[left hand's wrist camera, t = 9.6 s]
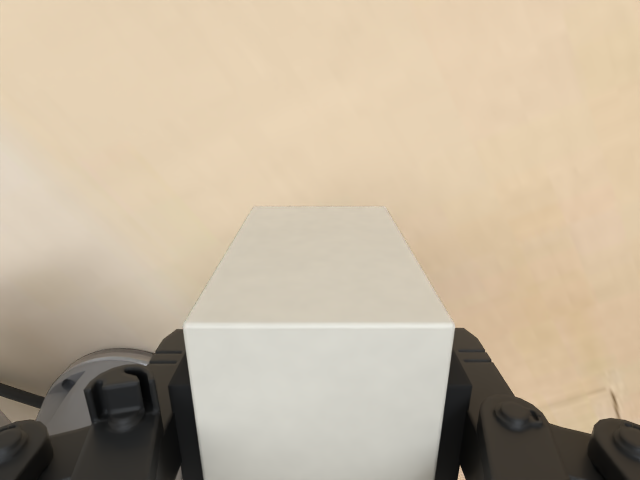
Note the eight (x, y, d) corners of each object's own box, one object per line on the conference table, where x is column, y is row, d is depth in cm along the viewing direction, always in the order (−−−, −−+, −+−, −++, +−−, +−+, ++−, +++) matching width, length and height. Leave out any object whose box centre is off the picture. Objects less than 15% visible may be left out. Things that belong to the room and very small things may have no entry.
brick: (261, 355, 16) (213, 567, 9) (252, 205, 14) (180, 324, 7) (377, 355, 16) (424, 567, 9) (386, 205, 14) (457, 324, 7)
